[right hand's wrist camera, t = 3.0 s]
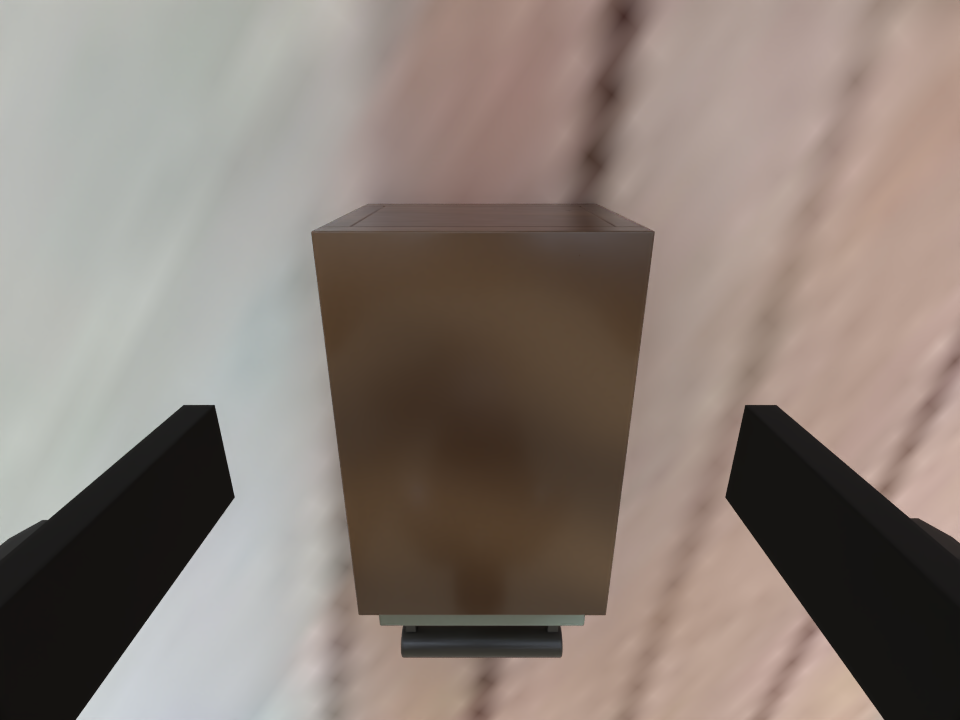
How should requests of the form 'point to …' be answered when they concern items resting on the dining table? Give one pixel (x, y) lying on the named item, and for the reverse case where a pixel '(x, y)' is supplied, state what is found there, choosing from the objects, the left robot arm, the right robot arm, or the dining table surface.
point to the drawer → (481, 635)
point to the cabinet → (482, 400)
